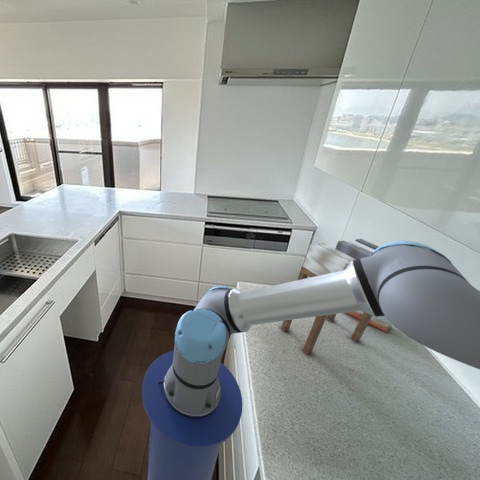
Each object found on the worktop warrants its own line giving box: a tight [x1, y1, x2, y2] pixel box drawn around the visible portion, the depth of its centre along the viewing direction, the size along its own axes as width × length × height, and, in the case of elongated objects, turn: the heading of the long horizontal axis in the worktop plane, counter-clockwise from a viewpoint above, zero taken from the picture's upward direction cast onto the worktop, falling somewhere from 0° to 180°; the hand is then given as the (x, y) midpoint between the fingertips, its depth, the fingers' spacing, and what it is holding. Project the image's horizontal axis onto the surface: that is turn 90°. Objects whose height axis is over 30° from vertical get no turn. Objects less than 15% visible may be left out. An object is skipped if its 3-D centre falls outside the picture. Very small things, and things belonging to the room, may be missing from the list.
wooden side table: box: [280, 238, 380, 355], centre depth 83 cm, size 12×23×34 cm, turn 107°
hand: (440, 321), depth 57 cm, fingers open, 13 cm apart
